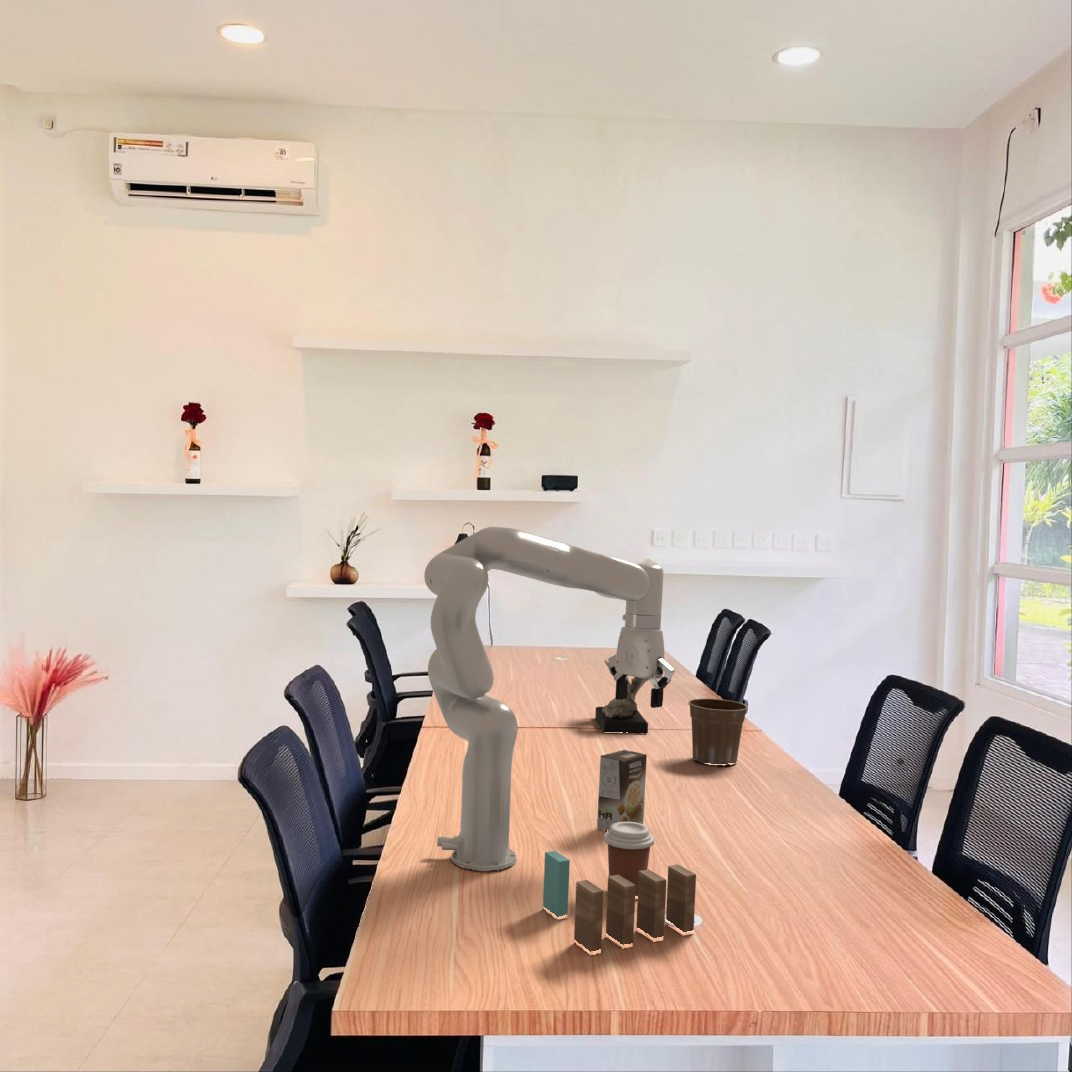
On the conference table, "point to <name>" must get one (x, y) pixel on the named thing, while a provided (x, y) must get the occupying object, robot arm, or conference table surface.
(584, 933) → the domino
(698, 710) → the plant pot
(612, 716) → the coral
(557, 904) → the teal domino
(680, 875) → the domino
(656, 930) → the domino
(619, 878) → the domino
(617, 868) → the coffee cup
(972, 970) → the conference table surface
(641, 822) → the coffee box
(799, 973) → the conference table surface
